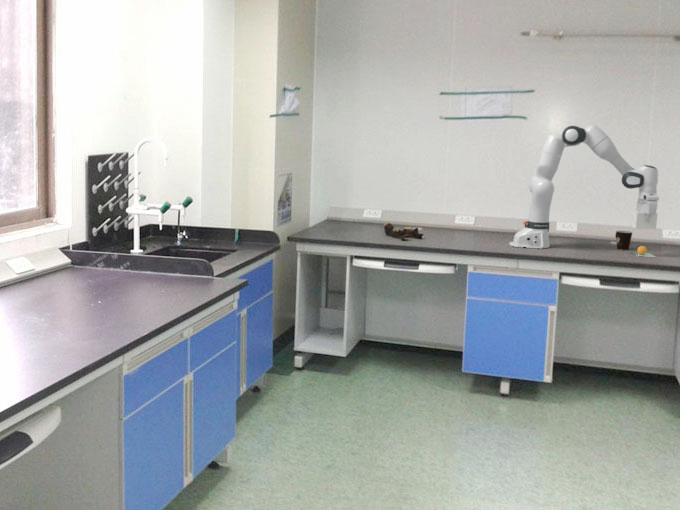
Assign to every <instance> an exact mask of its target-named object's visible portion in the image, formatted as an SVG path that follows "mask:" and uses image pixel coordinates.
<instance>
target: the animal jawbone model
mask: <svg viewBox="0 0 680 510" xmlns="http://www.w3.org/2000/svg"><path fill="white" fill-rule="evenodd" d="M383 228H384V234H385V235H386V237H392V238H395V239H401V241H402V242H405V239H409V238H414V239H415V238H417V239H419V240H421V239H423V236H424V235H425V234H423V233H419V227H415V228H414V229H413V227H412V226H406V227H403V228H404V229H402V230H401V229H400V228H398V227H395V226H394V223H393V222H392V221H388V222H383Z"/></svg>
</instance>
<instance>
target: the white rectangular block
mask: <svg viewBox="0 0 680 510" xmlns="http://www.w3.org/2000/svg"><path fill="white" fill-rule="evenodd" d="M658 214H659V213H658V212H656V213H655V215H651V218H650V222H646V218H647V214H646V213H643V212H641V211H637V210H633V211H632V217H631V224H630V225H631V226H630V227H631V228H634V229H636V230H639V229H640V230H656V229H657V223H658V221H657V220H658Z"/></svg>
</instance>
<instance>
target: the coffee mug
mask: <svg viewBox="0 0 680 510" xmlns="http://www.w3.org/2000/svg"><path fill="white" fill-rule="evenodd" d="M614 236H615V239H616V249H617V250H619V249H623V250H622V251H629V250H628V249H630V245H631V241H632V237H633V231H628V230H616V232H615V235H614Z"/></svg>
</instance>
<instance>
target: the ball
mask: <svg viewBox="0 0 680 510" xmlns="http://www.w3.org/2000/svg"><path fill="white" fill-rule="evenodd" d="M647 252H648V249H647V247H646V246H644V245H641V246H638V248H637V251H636V253H638V254H640V255H645V254H646V253H647Z"/></svg>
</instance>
